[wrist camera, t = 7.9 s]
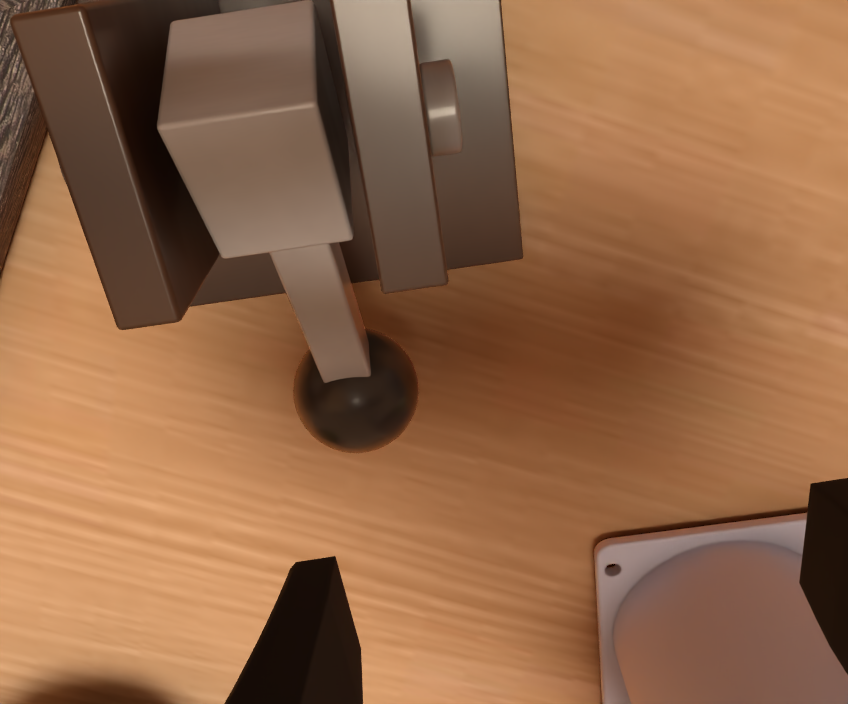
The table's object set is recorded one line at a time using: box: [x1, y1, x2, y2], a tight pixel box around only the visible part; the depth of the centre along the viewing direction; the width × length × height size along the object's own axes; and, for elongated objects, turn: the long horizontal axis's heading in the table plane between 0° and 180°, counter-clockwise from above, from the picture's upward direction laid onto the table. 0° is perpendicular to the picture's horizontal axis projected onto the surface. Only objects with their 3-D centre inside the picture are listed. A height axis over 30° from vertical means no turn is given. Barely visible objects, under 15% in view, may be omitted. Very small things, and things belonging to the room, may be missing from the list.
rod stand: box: [10, 0, 523, 330], centre depth 15 cm, size 10×9×9 cm
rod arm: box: [157, 0, 419, 453], centre depth 16 cm, size 11×3×3 cm, turn 8°
